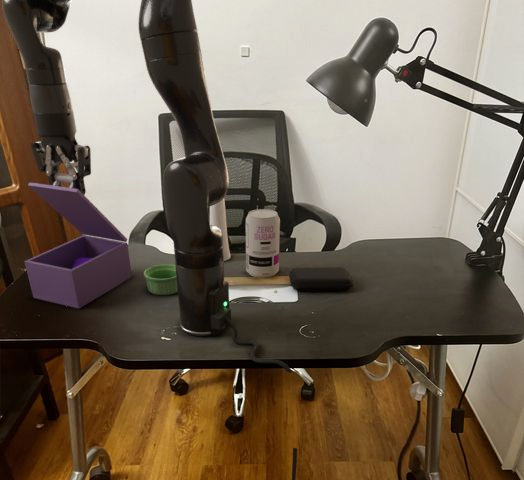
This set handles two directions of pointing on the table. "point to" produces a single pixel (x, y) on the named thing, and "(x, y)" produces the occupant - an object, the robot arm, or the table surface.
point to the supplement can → (262, 243)
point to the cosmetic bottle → (220, 224)
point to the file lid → (77, 208)
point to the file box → (79, 271)
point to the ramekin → (161, 279)
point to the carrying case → (320, 279)
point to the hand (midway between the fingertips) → (69, 194)
